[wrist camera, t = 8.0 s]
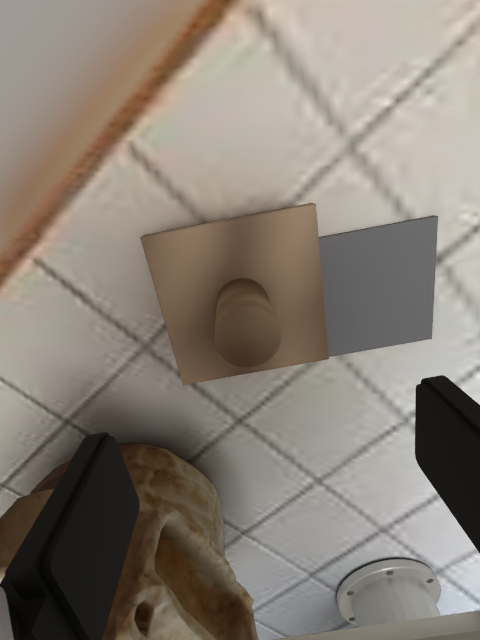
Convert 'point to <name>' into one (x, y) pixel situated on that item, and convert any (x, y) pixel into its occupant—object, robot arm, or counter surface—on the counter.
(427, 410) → the robot arm
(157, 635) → the ceramic vessel
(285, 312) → the lid
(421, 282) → the mat
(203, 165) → the counter surface
